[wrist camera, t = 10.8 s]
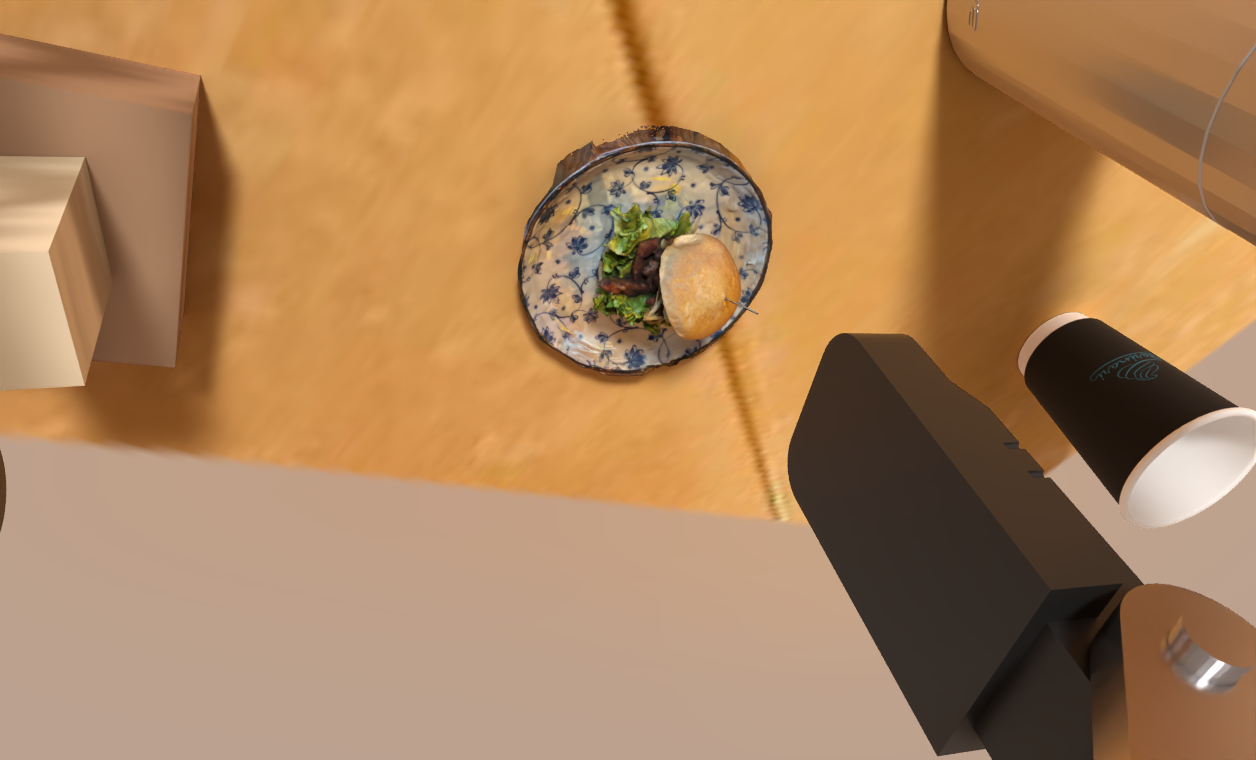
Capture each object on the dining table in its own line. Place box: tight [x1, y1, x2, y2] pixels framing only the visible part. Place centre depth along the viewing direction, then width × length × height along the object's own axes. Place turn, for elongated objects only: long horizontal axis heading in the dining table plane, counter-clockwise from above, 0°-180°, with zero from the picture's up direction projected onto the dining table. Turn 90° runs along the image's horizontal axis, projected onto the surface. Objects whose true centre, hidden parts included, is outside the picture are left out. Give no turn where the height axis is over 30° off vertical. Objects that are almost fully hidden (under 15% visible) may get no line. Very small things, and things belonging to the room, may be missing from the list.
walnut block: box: [0, 34, 201, 368], centre depth 31 cm, size 10×10×4 cm
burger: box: [518, 125, 773, 376], centre depth 38 cm, size 12×12×8 cm
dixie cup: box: [1018, 312, 1256, 529], centre depth 49 cm, size 8×8×11 cm
